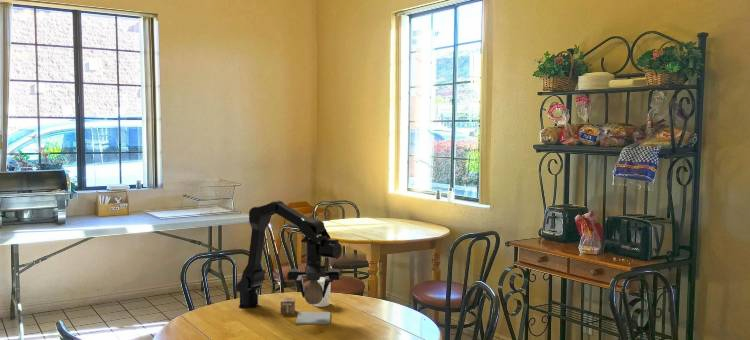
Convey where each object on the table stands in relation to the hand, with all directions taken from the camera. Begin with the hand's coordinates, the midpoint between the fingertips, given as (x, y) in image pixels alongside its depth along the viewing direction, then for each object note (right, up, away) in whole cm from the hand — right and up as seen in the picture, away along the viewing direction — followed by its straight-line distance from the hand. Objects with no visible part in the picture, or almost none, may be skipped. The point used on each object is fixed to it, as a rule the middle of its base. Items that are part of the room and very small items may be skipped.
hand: (313, 297), depth 229 cm
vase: (0, -2, 0) cm, 2 cm away
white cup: (+1, -7, +19) cm, 20 cm away
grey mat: (0, -8, +1) cm, 8 cm away
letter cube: (-10, -7, +8) cm, 15 cm away
